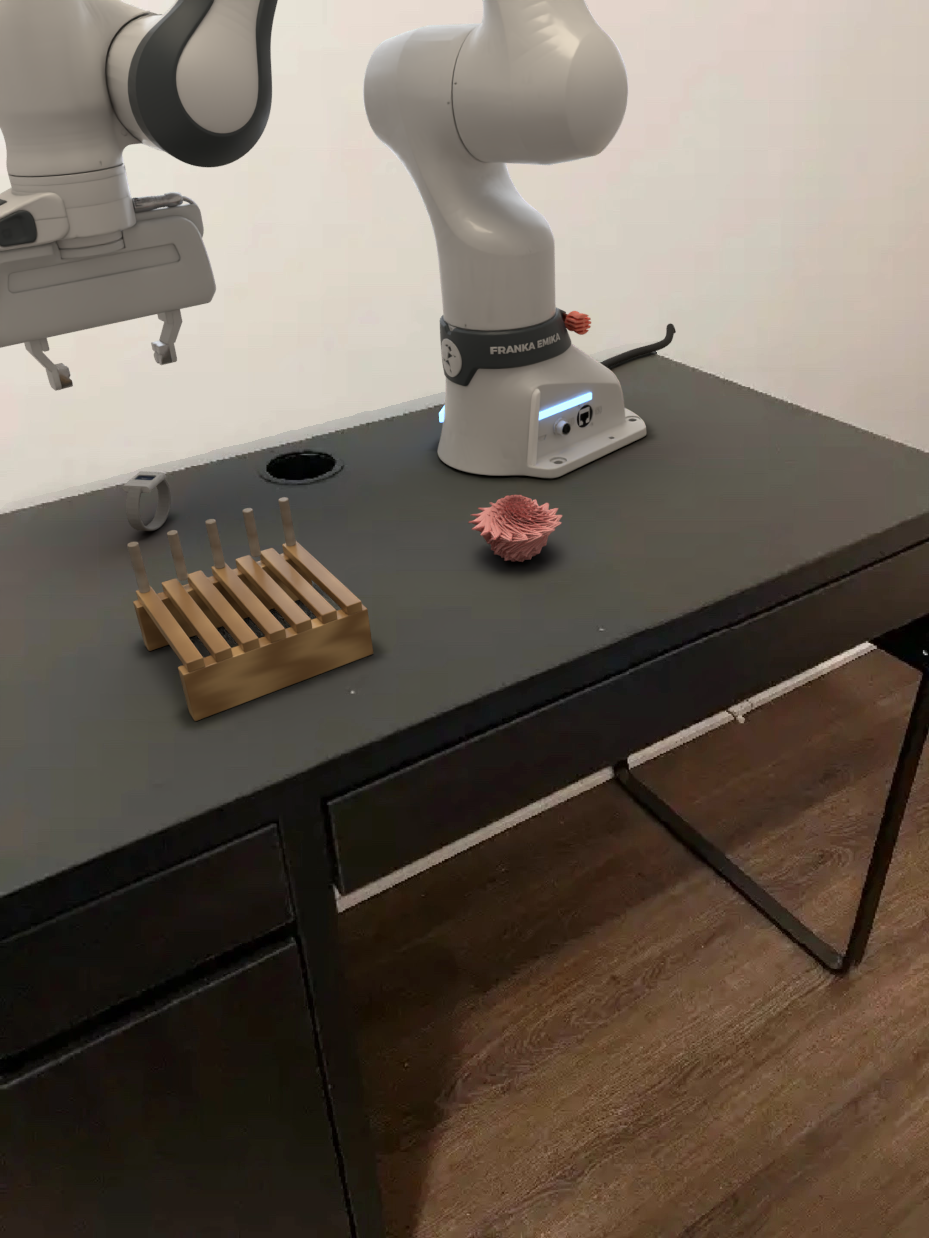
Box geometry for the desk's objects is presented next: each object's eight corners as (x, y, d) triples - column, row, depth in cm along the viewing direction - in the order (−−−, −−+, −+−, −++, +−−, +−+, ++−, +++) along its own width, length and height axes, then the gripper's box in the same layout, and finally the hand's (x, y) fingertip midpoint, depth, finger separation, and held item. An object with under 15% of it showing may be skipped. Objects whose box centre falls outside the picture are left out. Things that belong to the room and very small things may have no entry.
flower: (454, 568, 87) (450, 509, 84) (496, 528, 93) (493, 471, 90) (539, 586, 84) (537, 525, 81) (577, 543, 90) (577, 485, 87)
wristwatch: (152, 543, 95) (140, 493, 92) (126, 541, 96) (113, 492, 93) (183, 513, 100) (172, 465, 97) (157, 511, 101) (146, 464, 98)
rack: (308, 589, 86) (292, 493, 81) (373, 654, 77) (360, 550, 73) (144, 644, 80) (117, 545, 76) (195, 721, 71) (167, 614, 67)
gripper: (181, 184, 90) (210, 341, 97) (-65, 222, 80) (-13, 393, 87) (211, 192, 85) (239, 355, 93) (-45, 232, 76) (8, 412, 83)
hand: (115, 374), depth 90 cm, fingers open, 8 cm apart
